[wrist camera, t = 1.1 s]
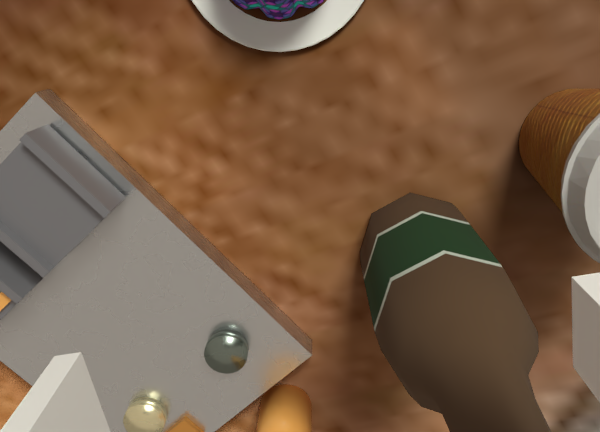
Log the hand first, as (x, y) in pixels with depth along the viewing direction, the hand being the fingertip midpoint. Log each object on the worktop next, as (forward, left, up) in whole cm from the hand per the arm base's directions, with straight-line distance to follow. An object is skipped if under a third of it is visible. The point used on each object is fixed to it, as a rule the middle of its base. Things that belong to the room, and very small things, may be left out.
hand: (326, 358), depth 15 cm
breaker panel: (-2, -18, -24) cm, 30 cm away
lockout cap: (+13, -15, -24) cm, 31 cm away
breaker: (-10, -14, -21) cm, 27 cm away
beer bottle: (+9, +1, -24) cm, 26 cm away
